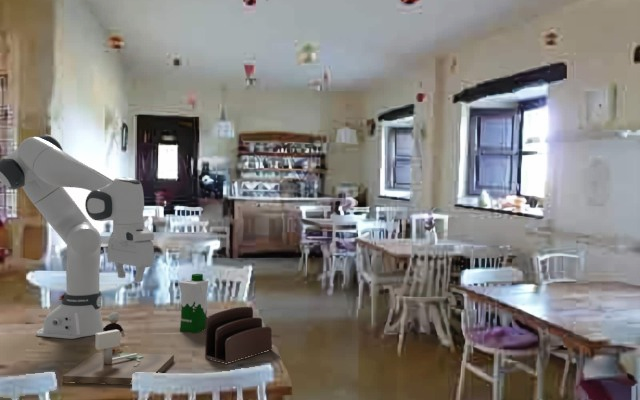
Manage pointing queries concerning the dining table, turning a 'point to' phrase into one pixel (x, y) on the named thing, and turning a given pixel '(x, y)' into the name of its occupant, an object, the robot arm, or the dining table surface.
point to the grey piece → (109, 345)
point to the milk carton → (193, 304)
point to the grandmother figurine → (113, 326)
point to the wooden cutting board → (117, 368)
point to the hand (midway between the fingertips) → (130, 279)
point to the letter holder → (235, 335)
